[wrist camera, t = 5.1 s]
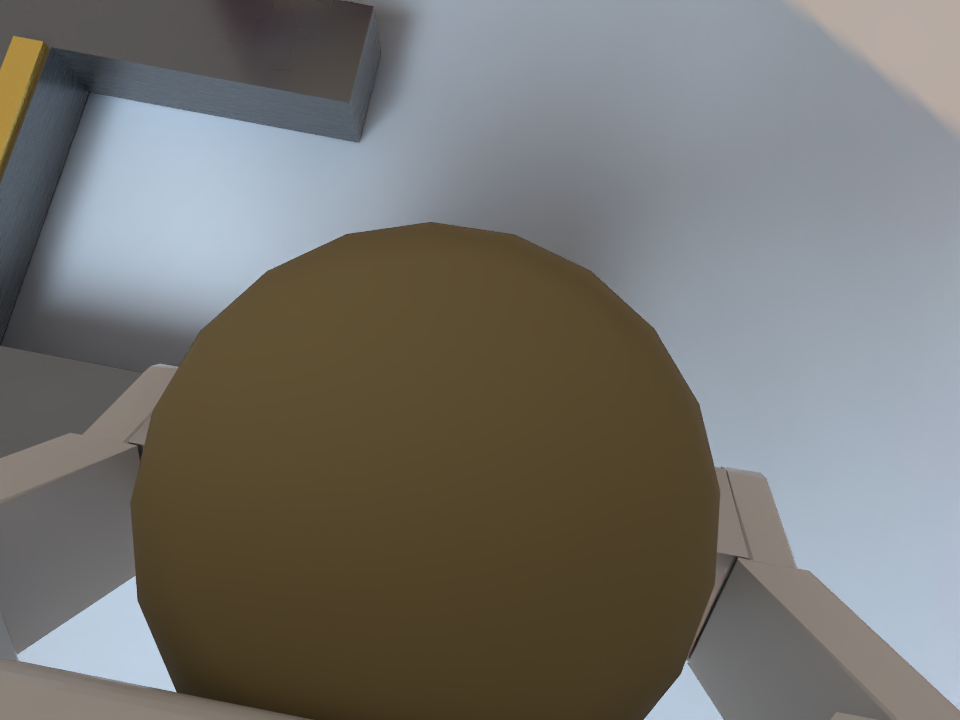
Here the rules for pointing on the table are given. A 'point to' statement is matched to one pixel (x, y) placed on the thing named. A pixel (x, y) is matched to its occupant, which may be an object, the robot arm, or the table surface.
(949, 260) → the table surface
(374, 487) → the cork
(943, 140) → the table surface
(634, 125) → the table surface
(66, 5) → the grey u-shaped bracket
